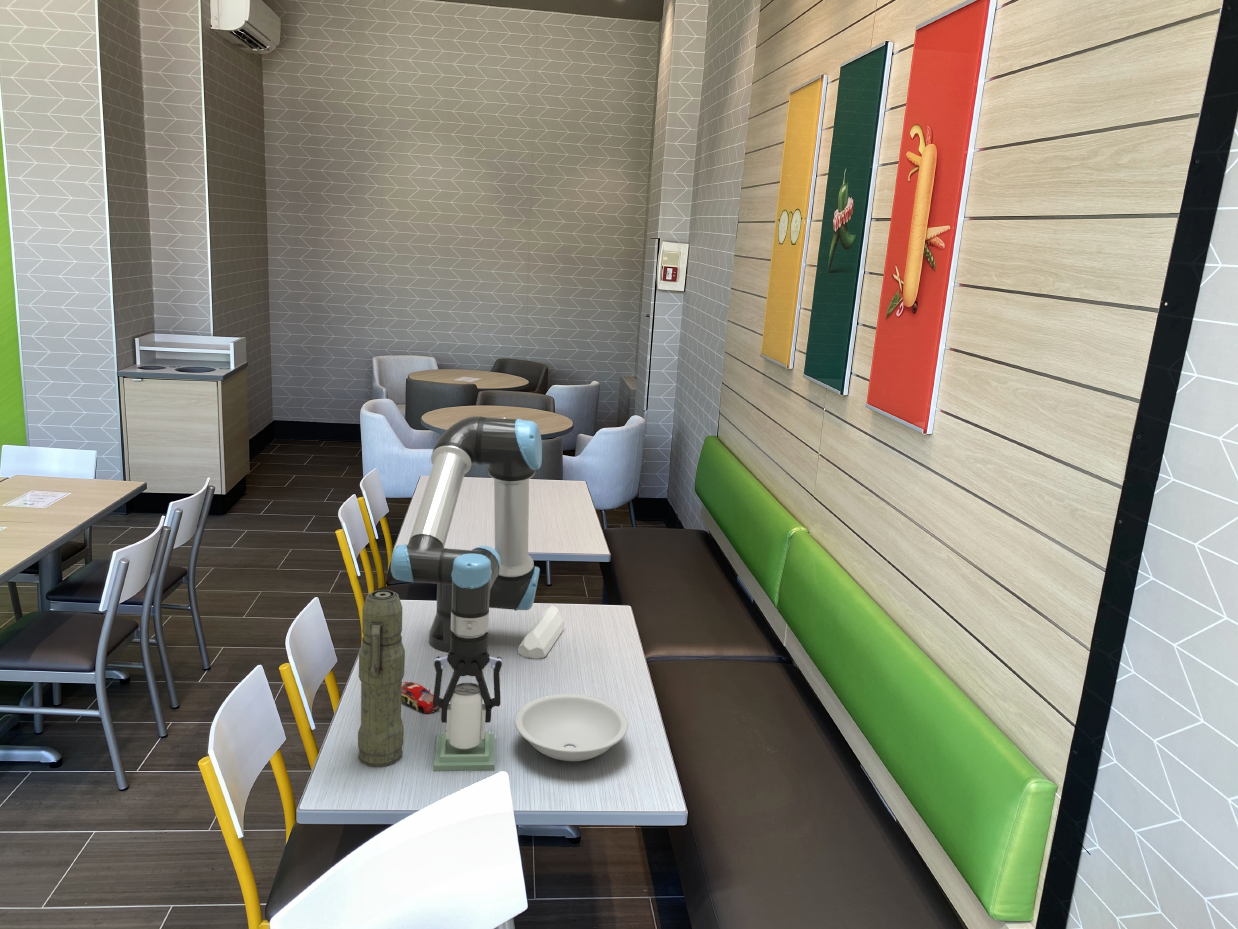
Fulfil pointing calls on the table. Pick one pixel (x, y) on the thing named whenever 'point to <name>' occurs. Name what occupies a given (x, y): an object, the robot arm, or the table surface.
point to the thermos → (381, 680)
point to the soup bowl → (571, 725)
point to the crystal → (542, 634)
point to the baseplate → (464, 755)
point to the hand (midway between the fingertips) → (465, 735)
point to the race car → (417, 697)
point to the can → (466, 716)
